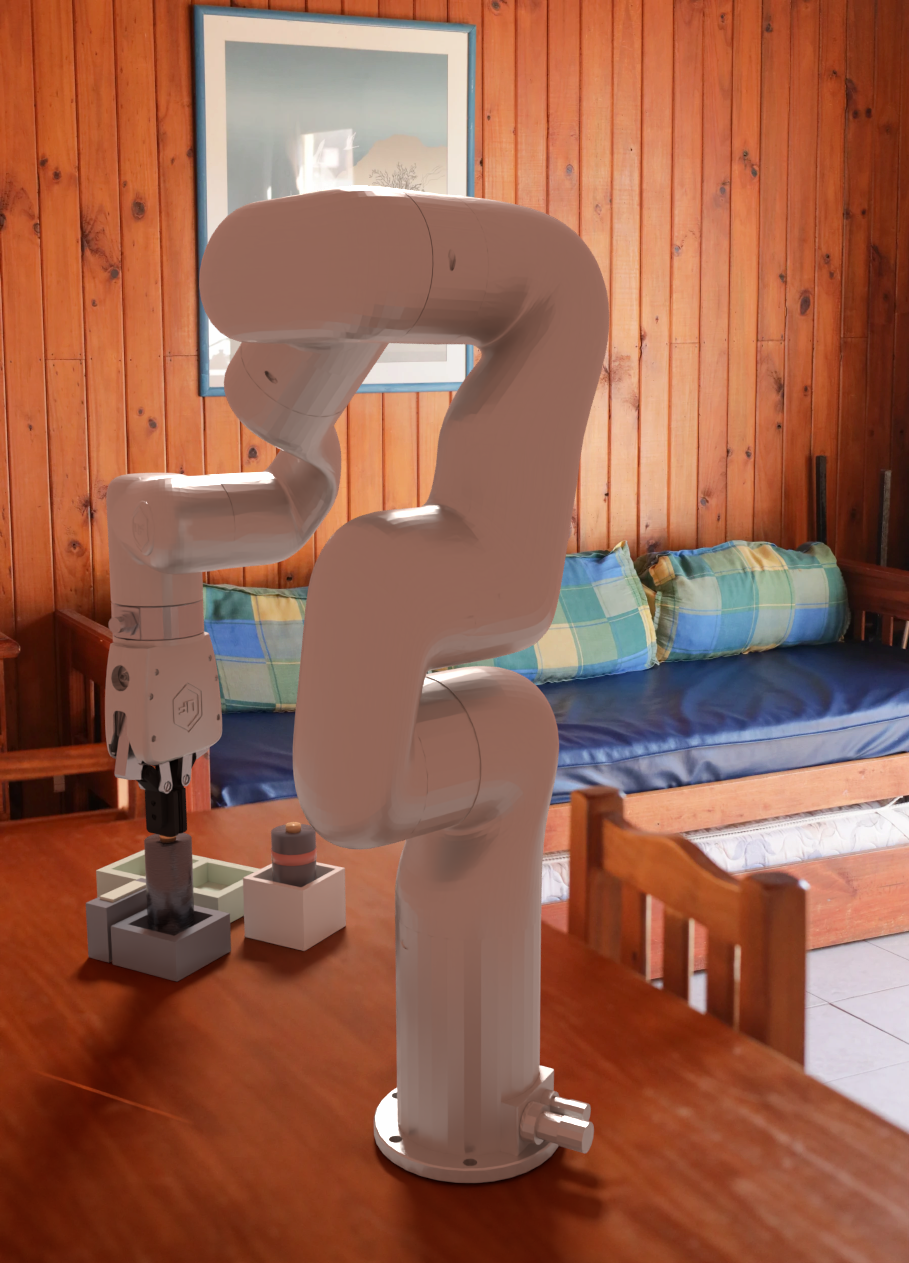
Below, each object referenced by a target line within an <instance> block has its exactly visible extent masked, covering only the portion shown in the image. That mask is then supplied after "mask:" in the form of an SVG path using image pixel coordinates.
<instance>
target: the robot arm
mask: <svg viewBox="0 0 909 1263" xmlns="http://www.w3.org/2000/svg"><path fill="white" fill-rule="evenodd" d="M198 279H199V282H198V284H199V286H198V288H199V294H200V300H201V303H202V306H203V311H204V312H205V315H206V316H207V318H208V320H209V321H210V323H211V324H212V325H213V327H215V328H216V330H217V331H218V332H219V333H220V334H222V335H224V336H226V337H227V338H228V339H231V340H232V341H237V342H239V343H240V345H239V346H238V348H237V350H236V352H235V353H234V354H233V356H232V358H231V360H230V361H229V363H228V365H227V367H226V370H225V372H224V378H223V390H224V394H225V398H226V401H227V403H228V406H229V407H230V408H231V410H232V412H233V414H234V415H235V416H236V418H237V419H238V420H239V422H241V424H242V425H243V426H244V427H245V428H247V429H248V430H249V431H250V433H252V434H254V435H255V436H256V437H258V438H259V439H261V440H263V441H264V442H266V443H268V444H269V445H271V446H273V447H275V448H277V449H279V452H278V453H277V454H276V456H275V457H274V459H273V460H272V461H271V463H270V464H269V465H268V466H267V467H266V469H264V470H262V471H256V472H255V471H254V472H236V473H235V472H234V473H233V472H231V473H219V474H218V473H217V474H216V473H214V474H201V475H186V474H182V473H175V472H138V473H135V472H134V473H127V474H121V475H119V476H116V477H114V478H113V479H111V481H110V482H109V483H108V486H107V488H106V496H105V497H106V501H105V502H106V503H105V504H106V520H107V521H106V522H107V525H106V526H107V541H108V543H107V544H108V561H109V562H108V564H109V567H108V569H109V586H110V587H109V588H110V601H111V602H110V604H111V605H110V607H111V610H110V611H111V618H109V621H108V629H109V630H110V632H111V633H112V642H111V643H110V644H109V649H108V650H109V651H108V657H107V663H106V664H107V665H106V673H105V674H106V677H105V690H104V691H105V694H104V696H105V697H104V720H105V721H104V722H105V723H104V725H105V729H104V730H105V738H106V740H105V741H106V747H107V751H108V754H109V756H110V757H112V758H113V759H115V763H114V764H115V765H114V776H115V778H118V779H122V780H128V781H132V780H133V781H136V782H137V784H138V787H139V789H141V790H144V805H145V806H144V807H145V808H144V809H145V824H146V825H145V827H146V831H147V833H151V834H159V835H164V836H168V837H174V836H177V835H178V834H181V833H186V832H187V831H188V817H187V814H188V813H187V789H186V787H188V786H189V785H190V783H191V780H192V779H191V778H192V768H193V767H194V765H195V762H196V760H199V758H200V757H202V756H204V755H205V754H206V753H207V752H208V751H209V750H210V747H212V746H214V745H215V744H216V743H217V742H218V741H219V740H220V739H221V737H222V734H223V715H222V712H223V711H222V700H221V692H220V690H221V689H220V683H219V682H220V681H219V673H218V666H217V660H216V655H215V650H214V648H213V647H214V646H213V642H212V640H211V639H212V638H211V636H210V633H209V632H207V631H205V618H204V616H205V615H204V614H205V611H204V583H203V573H204V572H215V571H218V570H226V569H238V568H244V567H245V568H246V567H256V566H257V567H258V566H267V565H274V564H277V563H279V562H282V561H283V562H284V561H286V560H288V559H290V558H291V557H292V556H294V555H295V554H296V553H298V552H299V551H300V550H301V549H302V548H304V546H305V545H306V544H307V543H308V542H309V541H310V539H311V538H312V537H313V535H314V534H315V532H316V531H317V530H318V528H319V527H320V526H321V524H322V523H323V521H324V520H325V519H326V517H327V516H328V515H329V513H330V512H331V510H332V508H333V506H334V504H335V502H336V499H337V498H338V497H337V496H338V493H339V490H340V489H339V488H340V484H341V483H340V482H341V477H342V476H341V475H342V474H341V473H342V451H341V444H340V440H339V434H338V432H337V430H336V427H335V425H336V423H337V421H338V420H339V418H340V417H341V416H342V414H343V413H344V411H345V410H346V408H347V407H348V405H349V404H350V402H351V401H352V399H353V397H354V396H355V395H356V393H357V392H358V390H359V388H360V387H361V386H362V384H363V382H364V381H365V379H366V378H367V377H368V375H369V374H370V372H371V370H372V369H373V368H374V367H375V365H376V363H377V362H378V361H379V359H380V357H381V356H382V354H383V353H384V351H385V350H386V349H387V347H388V345H389V344H406V345H407V344H409V345H410V344H412V345H414V344H415V345H469V346H474V347H476V348H477V349H478V350H479V351H480V354H481V356H480V358H479V360H478V362H476V364H475V366H473V368H472V369H471V370H470V372H469V373H468V374H467V376H465V378H464V380H463V381H462V382H461V384H460V386H459V387H458V389H457V391H456V392H455V395H454V396H453V397H452V400H451V402H450V404H449V406H448V408H447V410H446V412H445V415H444V418H443V421H442V424H441V427H440V431H439V435H438V440H437V451H436V462H435V469H434V475H433V480H432V485H431V489H430V492H429V495H428V498H427V500H426V501H425V502H424V504H423V505H421V506H419V507H407V508H398V509H397V508H395V509H387V510H379V511H374V512H370V513H366V514H361V515H359V516H357V517H355V518H352V519H351V520H348V521H347V522H346V523H344V524H343V525H341V526H340V527H339V528H338V529H336V530H335V532H333V534H332V535H331V536H330V537H329V538H328V539H327V541H326V542H325V544H324V546H323V548H322V549H321V551H320V553H319V554H318V557H317V558H316V561H315V564H314V566H313V569H312V570H311V571H312V572H311V575H310V579H309V584H308V588H307V596H306V601H305V609H304V619H303V630H302V640H301V641H302V642H301V652H300V661H299V672H298V682H297V683H298V684H297V692H296V702H295V703H296V705H295V714H294V727H293V736H292V737H293V739H292V770H293V772H292V774H293V781H294V786H295V792H296V796H297V799H298V802H299V806H300V808H301V810H302V812H303V815H304V817H305V819H306V820H307V822H308V825H310V826H312V828H313V829H314V830H315V831H316V834H318V836H319V837H321V838H322V839H323V840H325V841H327V842H329V843H330V844H332V845H333V846H336V847H340V848H342V849H343V848H344V849H347V850H348V849H349V850H368V849H369V850H370V849H375V848H379V847H380V848H381V847H385V846H389V845H392V844H397V843H401V842H403V841H404V845H403V848H402V850H401V854H400V857H399V862H398V865H397V870H396V876H395V877H396V878H395V887H394V918H395V919H394V921H395V922H394V925H395V926H394V928H395V929H394V931H395V932H394V933H395V935H394V936H395V940H394V941H395V943H394V944H395V1020H396V1021H395V1022H396V1026H395V1030H396V1040H395V1041H396V1088H394V1089H392V1090H391V1091H390V1092H389V1093H387V1094H386V1096H385V1097H384V1098H382V1099H381V1101H380V1102H379V1103H378V1105H377V1107H376V1108H375V1112H374V1115H373V1136H374V1139H375V1143H376V1145H377V1146H378V1147H377V1148H379V1150H380V1151H381V1153H382V1154H383V1155H384V1156H385V1157H386V1158H387V1159H388V1160H390V1161H391V1162H392V1163H394V1164H395V1165H397V1166H398V1167H400V1168H402V1169H403V1170H405V1171H407V1172H410V1173H412V1174H414V1175H417V1176H419V1177H422V1178H428V1179H431V1180H434V1181H437V1182H438V1181H440V1182H448V1183H453V1184H454V1183H455V1184H481V1183H490V1182H491V1183H492V1182H497V1181H498V1182H499V1181H501V1180H507V1179H511V1178H514V1177H517V1176H520V1175H523V1174H526V1173H528V1172H530V1171H532V1170H533V1169H535V1168H537V1167H539V1166H541V1165H542V1164H543V1163H545V1162H546V1161H548V1159H550V1158H551V1157H552V1156H553V1154H554V1153H555V1152H556V1150H557V1149H558V1148H559V1147H561V1148H564V1149H569V1150H573V1151H575V1152H579V1153H582V1154H588V1152H589V1151H590V1149H591V1146H592V1144H593V1140H594V1134H595V1128H594V1124H593V1122H592V1121H590V1117H591V1111H592V1110H591V1109H592V1108H591V1107H592V1106H591V1104H589V1103H587V1102H585V1101H584V1102H583V1101H580V1100H576V1099H573V1098H570V1099H568V1098H565V1097H561V1096H560V1095H559V1092H557V1090H556V1091H555V1090H554V1087H555V1086H554V1085H555V1084H554V1083H555V1069H554V1068H551V1067H547V1066H545V1065H540V1064H541V1062H540V1060H541V1058H540V1057H541V1056H540V1055H541V1053H540V1052H541V965H542V962H541V961H542V960H541V959H542V957H541V955H542V953H541V952H542V949H541V948H542V945H541V944H542V930H541V929H542V905H543V904H542V902H543V901H542V899H543V896H542V895H543V894H542V893H543V890H542V889H543V860H544V845H545V837H546V836H545V835H546V829H547V823H548V822H547V821H548V816H549V811H550V806H551V800H552V796H553V793H554V792H553V791H554V787H555V783H556V777H557V773H558V772H557V771H558V766H559V756H560V754H559V753H560V739H559V728H558V724H557V720H556V716H555V714H554V711H553V709H552V708H553V707H551V703H550V702H549V701H548V698H547V697H546V696H545V694H544V693H543V692H542V691H541V689H540V688H539V687H538V686H537V685H536V684H535V683H533V681H532V680H530V679H529V678H527V677H526V676H524V675H522V674H521V673H518V672H516V671H513V670H512V669H511V670H510V669H507V668H503V667H499V666H490V665H489V666H488V665H476V666H475V665H473V666H463V667H458V668H452V669H447V670H440V671H437V672H436V670H439V669H444V668H449V667H455V666H460V665H461V666H462V665H465V664H466V665H467V664H471V663H472V664H473V663H477V662H481V661H487V660H491V659H496V658H500V657H504V656H507V655H511V654H515V653H518V652H521V651H524V650H526V649H528V648H531V647H532V646H534V645H535V644H537V643H539V641H541V640H542V638H543V637H544V636H545V635H546V634H547V632H548V631H549V630H550V627H551V626H552V622H553V621H554V618H555V614H556V611H557V607H558V603H559V598H560V593H561V587H562V582H563V576H564V575H563V574H564V569H565V563H566V562H565V561H566V556H567V550H568V544H569V537H570V530H571V525H572V518H573V513H574V507H575V506H574V505H575V501H576V500H575V499H576V495H577V494H576V493H577V488H578V480H579V472H580V469H579V468H580V461H581V458H582V457H581V455H582V449H583V444H584V438H585V433H586V430H587V426H588V422H589V417H590V414H591V410H592V406H593V403H594V399H595V395H596V391H597V390H598V389H597V388H598V385H599V382H600V378H601V375H602V372H603V371H602V370H603V367H604V362H605V357H606V353H607V348H608V347H607V346H608V341H609V334H610V333H609V332H610V304H609V296H608V290H607V287H606V283H605V280H604V276H603V273H602V271H601V268H600V266H599V263H598V261H597V259H596V257H595V255H594V254H593V252H592V250H591V249H590V248H589V245H587V243H585V241H584V240H583V238H581V236H580V235H579V234H578V233H577V232H575V231H574V230H573V229H572V228H571V227H569V225H567V224H566V223H564V222H563V221H561V220H559V219H557V218H555V217H554V216H552V215H549V214H547V213H545V212H544V211H541V210H537V209H534V208H531V207H528V206H524V205H520V204H515V203H512V202H507V201H501V200H495V199H488V198H479V197H473V196H465V195H457V194H453V195H452V194H442V193H441V194H440V193H434V192H425V191H419V190H417V191H416V190H410V189H402V188H393V187H386V186H385V187H384V186H373V185H370V186H368V185H351V186H350V185H349V186H348V185H347V186H338V187H333V188H326V189H325V188H324V189H321V190H317V191H310V192H304V193H301V194H294V195H288V196H283V197H276V198H270V199H263V200H257V201H254V202H249V203H247V204H245V205H242V206H240V207H238V208H236V209H235V210H234V211H232V212H230V213H229V214H228V215H227V216H226V217H225V218H224V219H223V220H222V221H221V222H220V223H219V225H217V227H216V229H215V230H214V231H213V233H212V234H211V236H210V238H209V240H208V242H207V244H206V246H205V249H204V253H203V255H202V258H201V263H200V268H199V278H198ZM434 670H435V672H431V673H428V672H430V671H434Z"/></svg>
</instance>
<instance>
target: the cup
mask: <svg viewBox="0 0 909 1263" xmlns="http://www.w3.org/2000/svg"><path fill="white" fill-rule="evenodd" d="M316 834H317V832H316V831H315V830H314V829H313V828H312V826H311V825H310V824H303V823H301V822H298V821H291V822H286V823H285V824H282V825H278V826H276V827H273V828H272V829H271V831H270V839H271V842H270V844H271V848H270V857H271V858H270V859H271V863H270V864H268V865H266V866H264V867H261V868H259V869H260V870H258V871H256V872H254V873H252V874H250V875H248V876H246V877H244V878H243V896H244V916H243V918H244V919H243V923H244V926H243V927H244V938H248V939H253V940H256V941H260V942H265V943H268V944H269V943H270V944H274V945H278V946H282V947H286V948H291V949H293V950H294V949H295V950H298V951H302V952H305V951H307V950H308V949H310V948H312V947H313V946H316V945H317V944H319V943H320V942H322V941H323V940H325V939H327V938H328V937H330V936H331V935H333V934H335V933H336V932H338V931H339V930H342V929H343V928H344V927H347V912H346V910H347V909H346V908H347V907H346V904H347V903H346V868H345V867H341V866H337V865H332V864H328V863H322V862H318V861H317V858H318V855H317V852H318V851H317V848H318V847H317V836H316Z"/></svg>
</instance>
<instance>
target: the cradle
mask: <svg viewBox="0 0 909 1263" xmlns="http://www.w3.org/2000/svg"><path fill="white" fill-rule="evenodd" d="M85 918H86V920H85V921H86V933H87V934H86V935H87V937H86V938H87V950H88V951H87V953H88V954H87V955H88V956H87V957H88V958H90V959H94V960H98V961H101V962H104V963H105V962H106V963H108V964H109V963H112V965H113V966H117V967H122V968H124V969H128V970H133V971H136V972H139V973H143V974H147V975H151V976H155V977H159V978H161V979H166V980H170V981H173V982H176V983H177V982H179V981H181V980H183V979H184V978H187V977H188V976H189V975H192V974H193V973H195V972H197V971H199V970H200V969H202V968H203V967H205V966H207V965H209V964H211V963H212V962H215V961H216V960H217V959H218V960H219V958H221V957H223V956H225V955H227V954H228V953H230V952H232V938H231V937H232V936H231V923H230V913H226V912H222V911H217V910H213V909H209V908H204V907H200V906H196V905H194V921H195V925H194V926H192V927H190V928H188V929H186V930H184V931H182V932H180V933H179V934H177V935H175V936H173V935H169V934H165V933H161V932H157V931H153V930H149V929H148V922H147V897H146V879H144V878H140V879H137V880H135V881H132V882H130V883H128V884H125V885H123V886H121V887H119V888H117V889H114V890H112V891H110V892H108V893H106V894H103V895H101V896H100V897H98V898H97V897H95V898H94V899H91V900H89V901H87V902H85Z"/></svg>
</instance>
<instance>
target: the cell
mask: <svg viewBox="0 0 909 1263" xmlns="http://www.w3.org/2000/svg"><path fill="white" fill-rule="evenodd" d="M192 838H193V837H192V836H191V835H190V834H188V833H186V832H184V833H181V834H178V835H177V836H174V837H168V836H164V835H159V834H154V833H152V834H151V835H148V836H147V837H146V838H144V840H143V843H144V844H143V845H144V847H143V848H144V850H145V872H146V897H147V922H148V929H149V930H153V931H157V932H161V933H165V934H169V935H173V936H175V935H177V934H179V933H180V932H182V931H184V930H186V929H188V928H190V927H192V926H194V925H195V921H194V891H193V862H192V855H193V840H192Z"/></svg>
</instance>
